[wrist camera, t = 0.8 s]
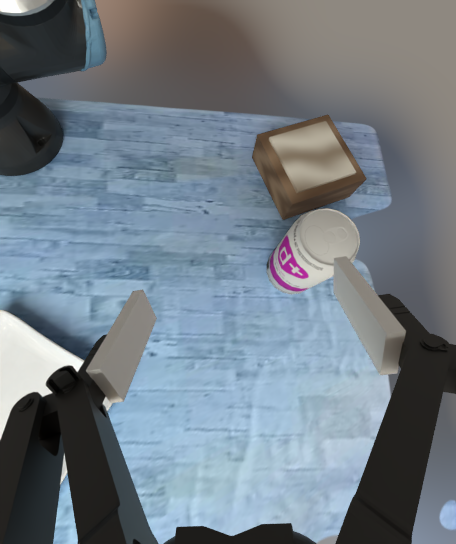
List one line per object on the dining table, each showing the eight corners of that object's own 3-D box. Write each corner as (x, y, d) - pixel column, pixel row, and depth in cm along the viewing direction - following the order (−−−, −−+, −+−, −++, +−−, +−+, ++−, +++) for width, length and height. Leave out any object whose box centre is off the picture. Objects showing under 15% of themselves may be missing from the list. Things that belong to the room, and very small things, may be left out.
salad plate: (-99, 450, 33) (-133, 462, 30) (14, 308, 39) (-4, 305, 35) (34, 539, 32) (13, 563, 28) (132, 379, 37) (124, 383, 34)
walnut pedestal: (252, 157, 48) (257, 132, 42) (315, 138, 50) (329, 112, 45) (282, 220, 45) (293, 202, 39) (349, 196, 47) (368, 177, 42)
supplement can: (275, 301, 41) (310, 280, 27) (259, 255, 43) (283, 212, 29) (319, 287, 42) (376, 260, 28) (302, 243, 44) (347, 196, 30)
